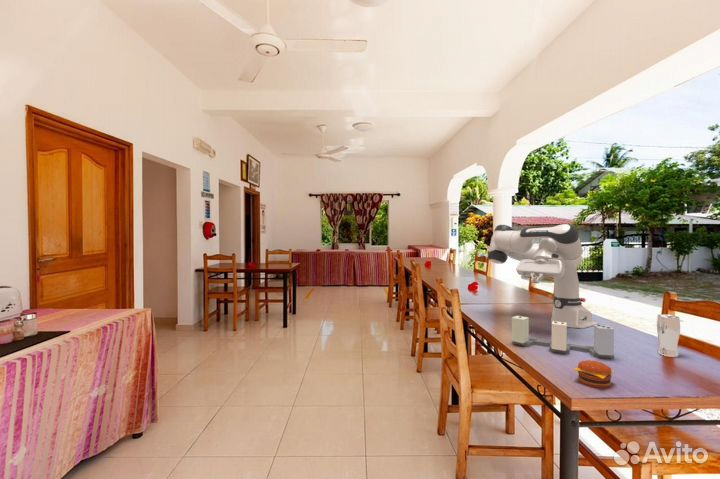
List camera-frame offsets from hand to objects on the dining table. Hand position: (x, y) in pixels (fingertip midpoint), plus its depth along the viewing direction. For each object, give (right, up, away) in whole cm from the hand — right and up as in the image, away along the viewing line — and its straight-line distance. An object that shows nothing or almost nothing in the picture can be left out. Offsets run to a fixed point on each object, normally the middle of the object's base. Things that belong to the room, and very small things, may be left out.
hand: (534, 282), depth 164 cm
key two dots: (+1, -24, -19) cm, 30 cm away
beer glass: (+41, -26, -22) cm, 53 cm away
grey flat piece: (+4, -26, -14) cm, 29 cm away
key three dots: (+14, -24, -25) cm, 37 cm away
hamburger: (-3, -27, -47) cm, 54 cm away
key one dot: (-10, -24, -9) cm, 28 cm away
